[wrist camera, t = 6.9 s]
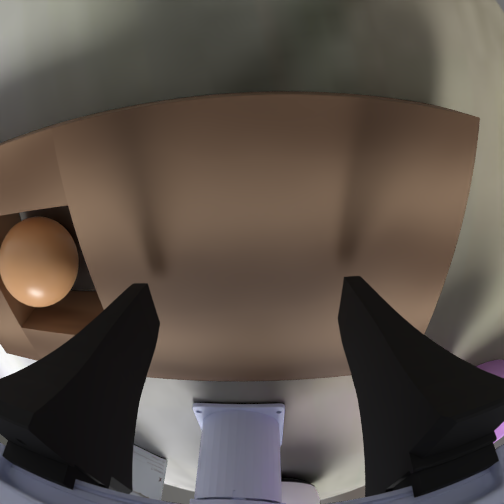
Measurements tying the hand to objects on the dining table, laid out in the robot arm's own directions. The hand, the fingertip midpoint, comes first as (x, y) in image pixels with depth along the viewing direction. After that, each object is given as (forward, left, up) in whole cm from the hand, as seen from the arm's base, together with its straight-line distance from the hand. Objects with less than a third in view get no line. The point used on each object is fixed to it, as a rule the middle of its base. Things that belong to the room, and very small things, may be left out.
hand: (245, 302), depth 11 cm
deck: (0, +5, -5) cm, 7 cm away
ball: (0, +12, -3) cm, 12 cm away
